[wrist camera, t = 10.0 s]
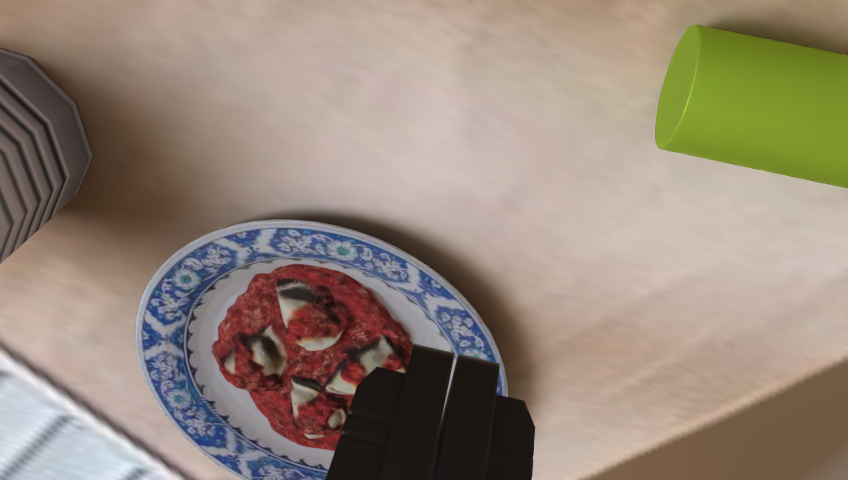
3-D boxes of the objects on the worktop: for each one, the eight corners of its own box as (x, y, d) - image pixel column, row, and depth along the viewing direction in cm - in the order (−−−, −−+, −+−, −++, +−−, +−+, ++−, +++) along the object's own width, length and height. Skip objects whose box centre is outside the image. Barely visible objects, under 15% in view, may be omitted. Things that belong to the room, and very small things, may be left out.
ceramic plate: (81, 323, 55) (58, 350, 52) (323, 124, 43) (308, 147, 41) (327, 525, 63) (317, 557, 60) (587, 405, 51) (588, 438, 49)
